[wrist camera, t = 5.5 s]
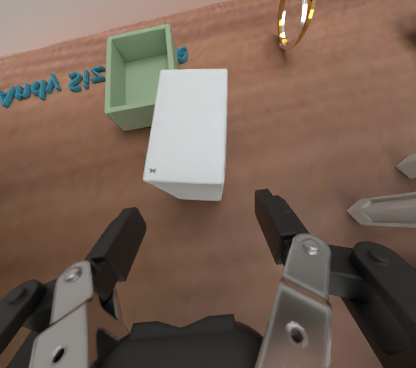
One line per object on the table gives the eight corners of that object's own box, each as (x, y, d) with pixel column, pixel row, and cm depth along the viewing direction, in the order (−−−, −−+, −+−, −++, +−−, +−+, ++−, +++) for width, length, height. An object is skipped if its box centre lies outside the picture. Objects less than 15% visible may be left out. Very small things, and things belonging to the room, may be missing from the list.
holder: (124, 131, 25) (104, 113, 20) (123, 63, 28) (106, 36, 24) (185, 120, 24) (177, 100, 20) (177, 52, 27) (169, 23, 23)
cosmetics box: (223, 201, 21) (225, 185, 10) (177, 199, 21) (137, 182, 11) (225, 132, 23) (229, 64, 13) (184, 132, 23) (156, 67, 13)
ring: (267, 33, 26) (286, -45, 19) (285, 28, 26) (312, -51, 18) (277, 63, 25) (303, -8, 17) (297, 59, 25) (332, -14, 17)
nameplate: (3, 89, 29) (-1, 110, 28) (-3, 85, 29) (-7, 107, 27) (186, 46, 28) (189, 67, 26) (185, 41, 27) (189, 63, 26)
